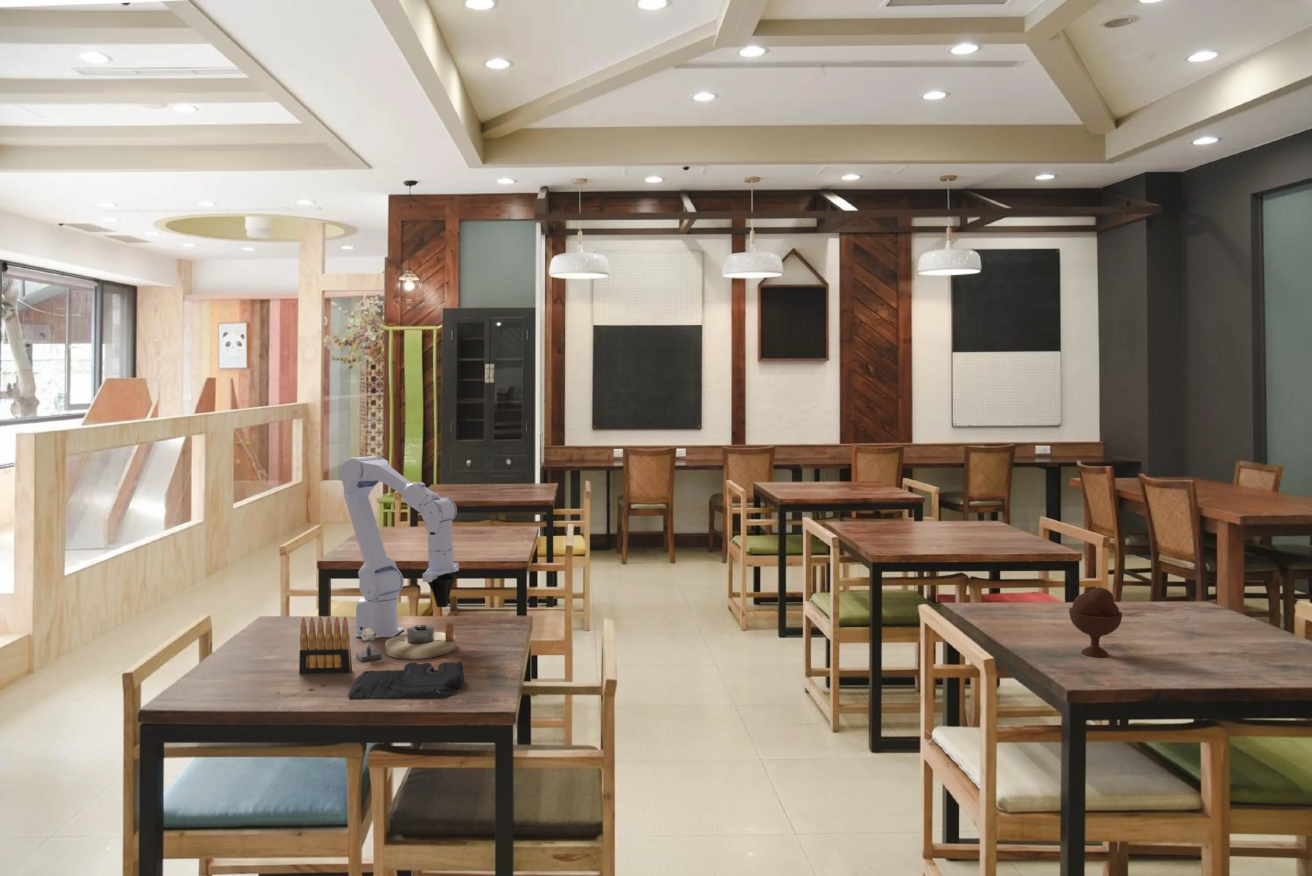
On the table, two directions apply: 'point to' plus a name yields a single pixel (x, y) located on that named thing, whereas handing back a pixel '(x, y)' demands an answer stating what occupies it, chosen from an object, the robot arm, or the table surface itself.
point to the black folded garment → (409, 682)
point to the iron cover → (420, 634)
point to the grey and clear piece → (369, 646)
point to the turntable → (422, 645)
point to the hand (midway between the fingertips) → (442, 606)
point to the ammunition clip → (324, 648)
